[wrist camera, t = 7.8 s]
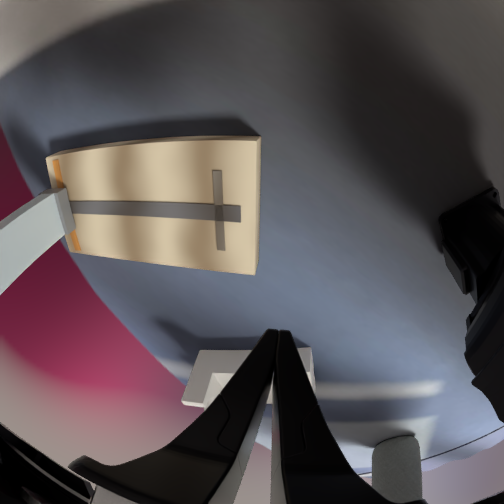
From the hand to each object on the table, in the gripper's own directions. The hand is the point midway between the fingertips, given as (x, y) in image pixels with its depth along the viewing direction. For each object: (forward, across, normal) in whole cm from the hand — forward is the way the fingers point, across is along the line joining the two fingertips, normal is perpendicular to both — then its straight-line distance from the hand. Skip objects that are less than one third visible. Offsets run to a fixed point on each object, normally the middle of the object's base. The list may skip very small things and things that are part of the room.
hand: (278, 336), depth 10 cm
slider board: (+12, +12, 0) cm, 17 cm away
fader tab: (+10, +20, 0) cm, 23 cm away
